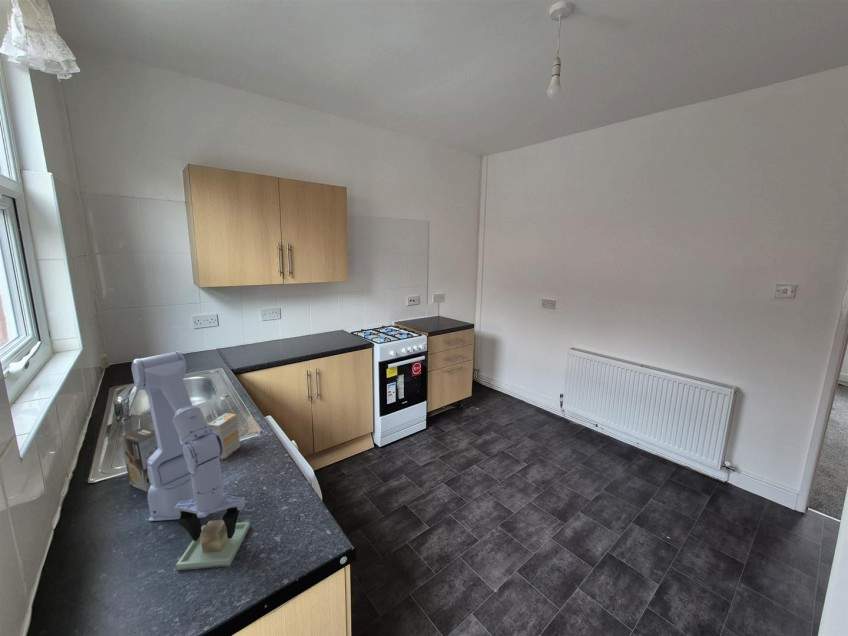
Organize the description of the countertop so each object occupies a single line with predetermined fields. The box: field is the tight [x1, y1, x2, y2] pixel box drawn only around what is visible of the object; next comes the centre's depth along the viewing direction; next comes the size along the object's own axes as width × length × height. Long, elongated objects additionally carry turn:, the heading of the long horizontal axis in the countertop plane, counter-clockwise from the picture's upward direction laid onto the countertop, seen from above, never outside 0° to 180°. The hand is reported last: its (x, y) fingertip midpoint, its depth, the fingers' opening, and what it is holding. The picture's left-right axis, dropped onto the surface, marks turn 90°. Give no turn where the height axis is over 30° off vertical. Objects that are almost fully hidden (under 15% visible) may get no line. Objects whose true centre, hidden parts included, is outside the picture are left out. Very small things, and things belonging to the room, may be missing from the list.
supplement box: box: [208, 412, 241, 459], centre depth 120 cm, size 8×5×13 cm, turn 169°
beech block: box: [200, 519, 228, 553], centre depth 82 cm, size 4×4×5 cm
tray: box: [175, 521, 251, 571], centre depth 82 cm, size 11×11×2 cm
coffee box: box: [120, 426, 158, 493], centre depth 104 cm, size 9×6×16 cm
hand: (214, 536), depth 82 cm, fingers open, 7 cm apart
